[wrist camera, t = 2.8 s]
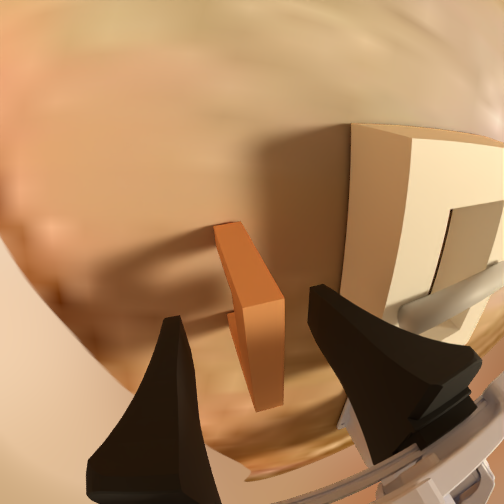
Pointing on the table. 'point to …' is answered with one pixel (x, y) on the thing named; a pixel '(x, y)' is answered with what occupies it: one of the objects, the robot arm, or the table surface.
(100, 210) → the table surface
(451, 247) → the cream frame with crossbar
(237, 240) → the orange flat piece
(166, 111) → the table surface
